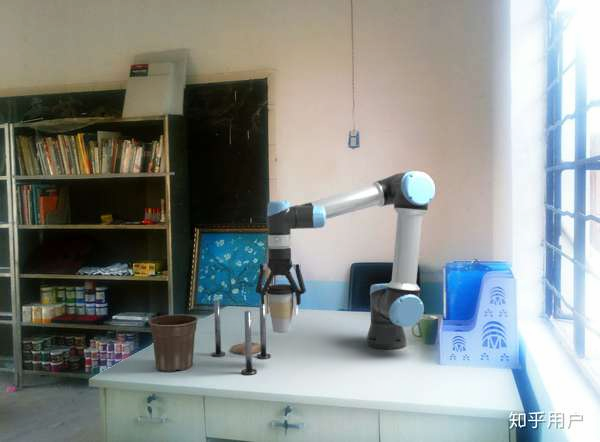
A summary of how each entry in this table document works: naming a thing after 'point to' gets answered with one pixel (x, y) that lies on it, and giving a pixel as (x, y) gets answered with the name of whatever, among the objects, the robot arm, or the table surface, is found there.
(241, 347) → the coaster
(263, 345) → the pole corner
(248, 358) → the pole outer
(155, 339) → the plant pot
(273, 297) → the coffee cup
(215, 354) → the pole far
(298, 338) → the table surface
